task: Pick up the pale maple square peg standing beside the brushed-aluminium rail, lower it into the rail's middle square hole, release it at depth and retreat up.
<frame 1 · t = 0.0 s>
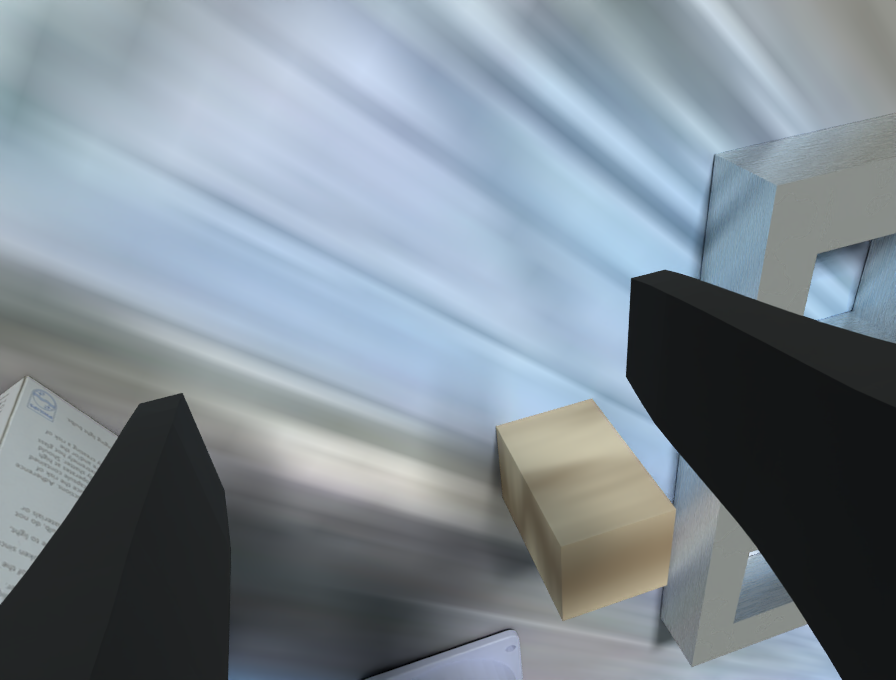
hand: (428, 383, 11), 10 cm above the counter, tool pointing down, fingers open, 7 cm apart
peg: (545, 449, 27), on the counter
rail: (775, 414, 30), on the counter
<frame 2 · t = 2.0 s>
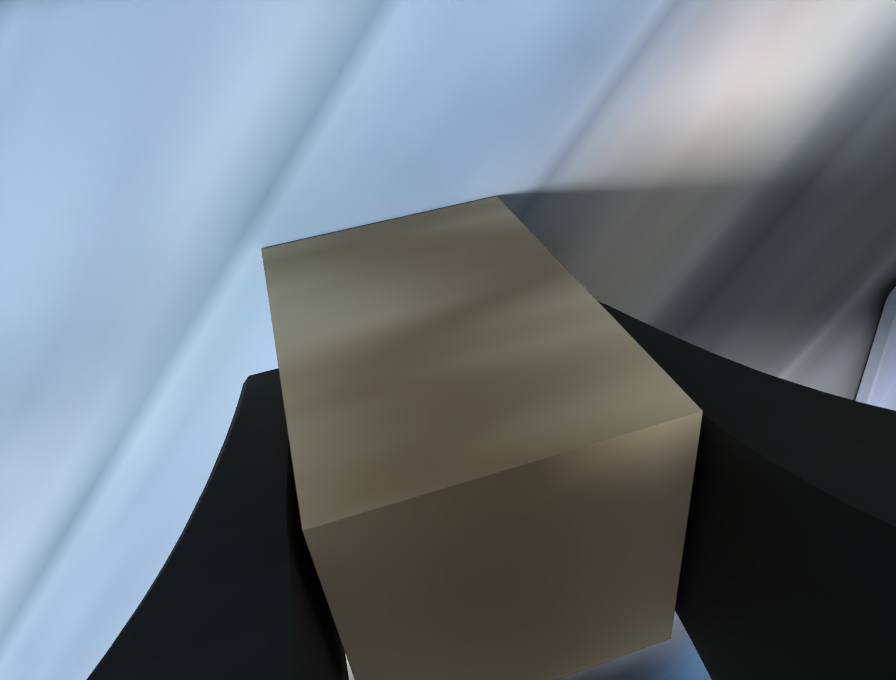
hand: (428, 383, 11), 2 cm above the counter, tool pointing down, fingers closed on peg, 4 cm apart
peg: (400, 322, 12), on the counter, touching gripper
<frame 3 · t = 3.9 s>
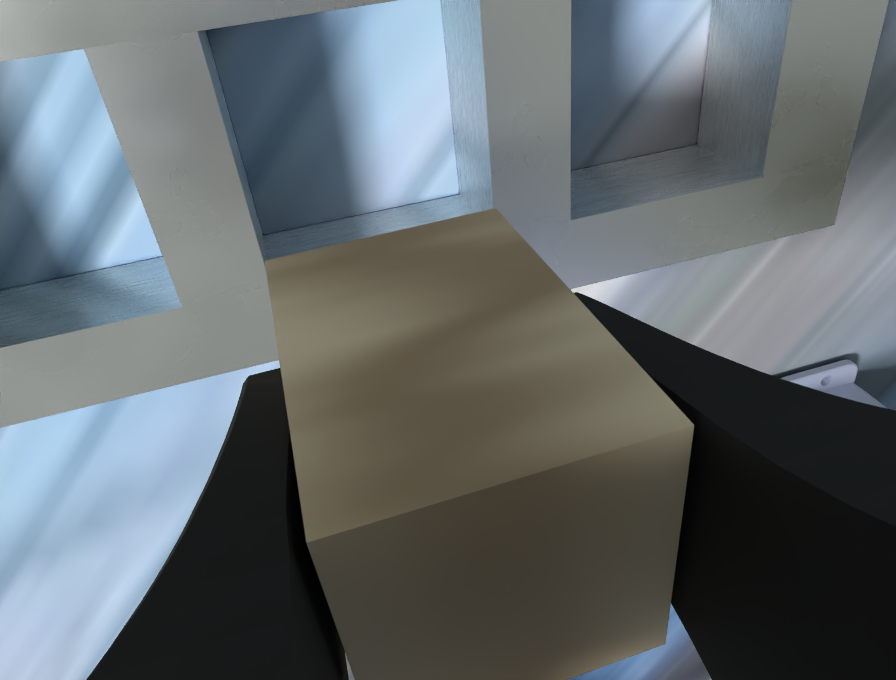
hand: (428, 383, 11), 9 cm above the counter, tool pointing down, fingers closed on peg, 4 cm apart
peg: (401, 331, 13), point 7 cm above the counter, touching gripper
rail: (345, 113, 17), on the counter
when the fingers open (4 cm above the counter, at t = 5.7 s): peg drops 2 cm, resting in rail.
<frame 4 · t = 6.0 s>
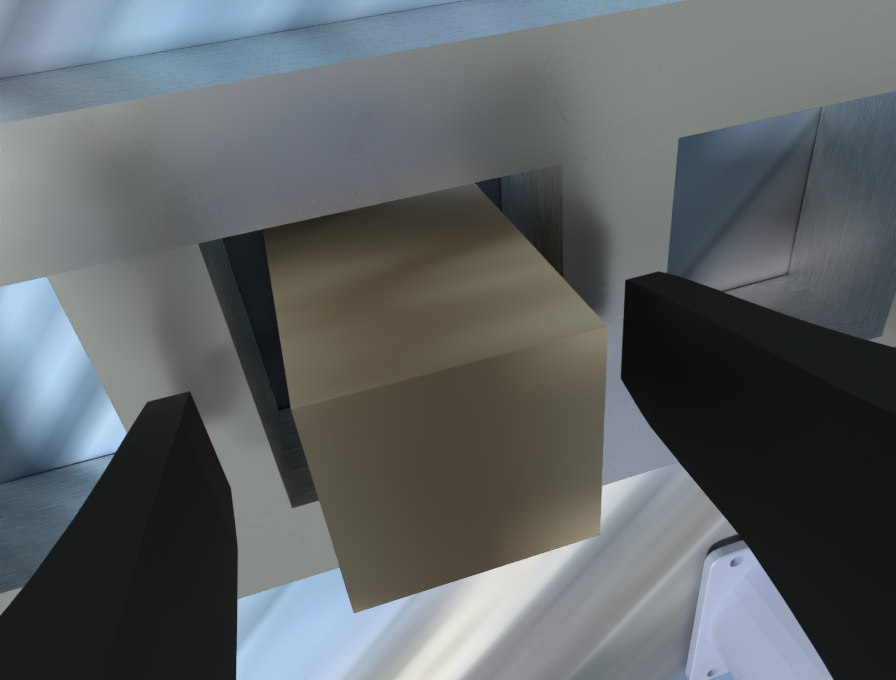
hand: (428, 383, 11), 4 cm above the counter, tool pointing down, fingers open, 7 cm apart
peg: (381, 282, 14), resting in rail
rail: (379, 273, 14), on the counter
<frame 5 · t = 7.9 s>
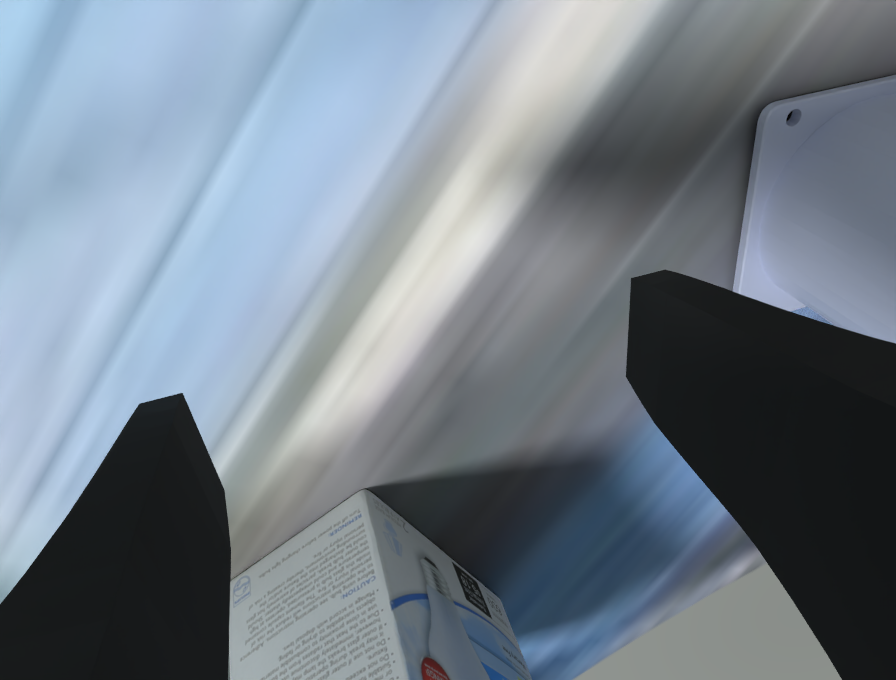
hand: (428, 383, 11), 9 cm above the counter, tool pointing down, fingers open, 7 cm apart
light bulb box: (374, 586, 28), on the counter
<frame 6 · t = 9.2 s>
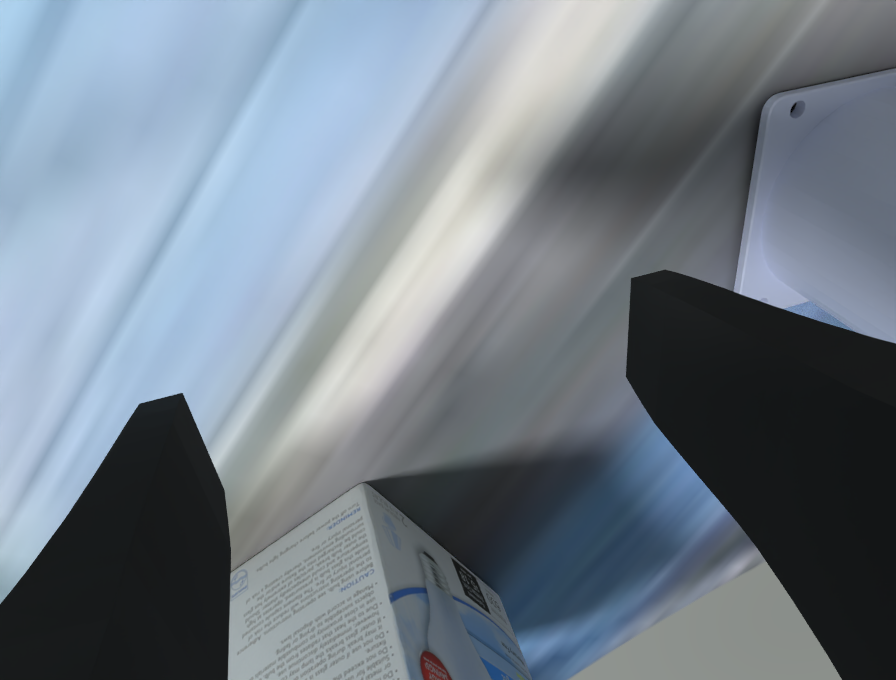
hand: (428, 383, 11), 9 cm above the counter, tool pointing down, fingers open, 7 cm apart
light bulb box: (372, 581, 28), on the counter
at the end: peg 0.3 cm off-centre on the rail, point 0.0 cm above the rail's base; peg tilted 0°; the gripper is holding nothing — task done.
